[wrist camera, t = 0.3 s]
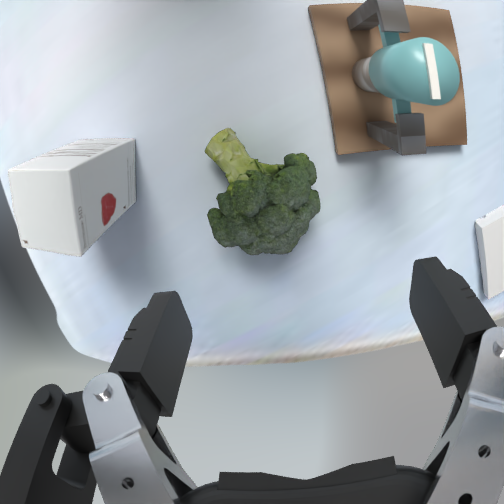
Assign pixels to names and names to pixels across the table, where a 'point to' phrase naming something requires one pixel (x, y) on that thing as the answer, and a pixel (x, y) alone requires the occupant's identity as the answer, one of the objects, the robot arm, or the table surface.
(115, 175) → the supplement box
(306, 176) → the vegetable
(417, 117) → the board with gray uprights
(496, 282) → the food packaging
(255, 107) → the table surface
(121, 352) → the robot arm
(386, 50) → the teal rounded body
